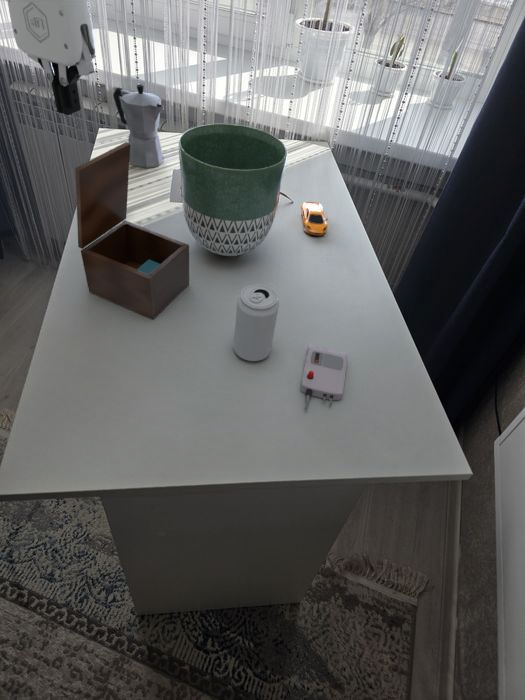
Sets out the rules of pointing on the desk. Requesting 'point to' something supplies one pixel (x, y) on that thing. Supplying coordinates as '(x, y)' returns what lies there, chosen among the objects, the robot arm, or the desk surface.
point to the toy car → (314, 219)
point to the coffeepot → (141, 125)
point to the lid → (102, 193)
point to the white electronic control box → (324, 374)
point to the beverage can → (255, 322)
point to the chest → (128, 255)
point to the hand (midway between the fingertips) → (69, 111)
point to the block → (148, 267)
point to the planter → (230, 185)
